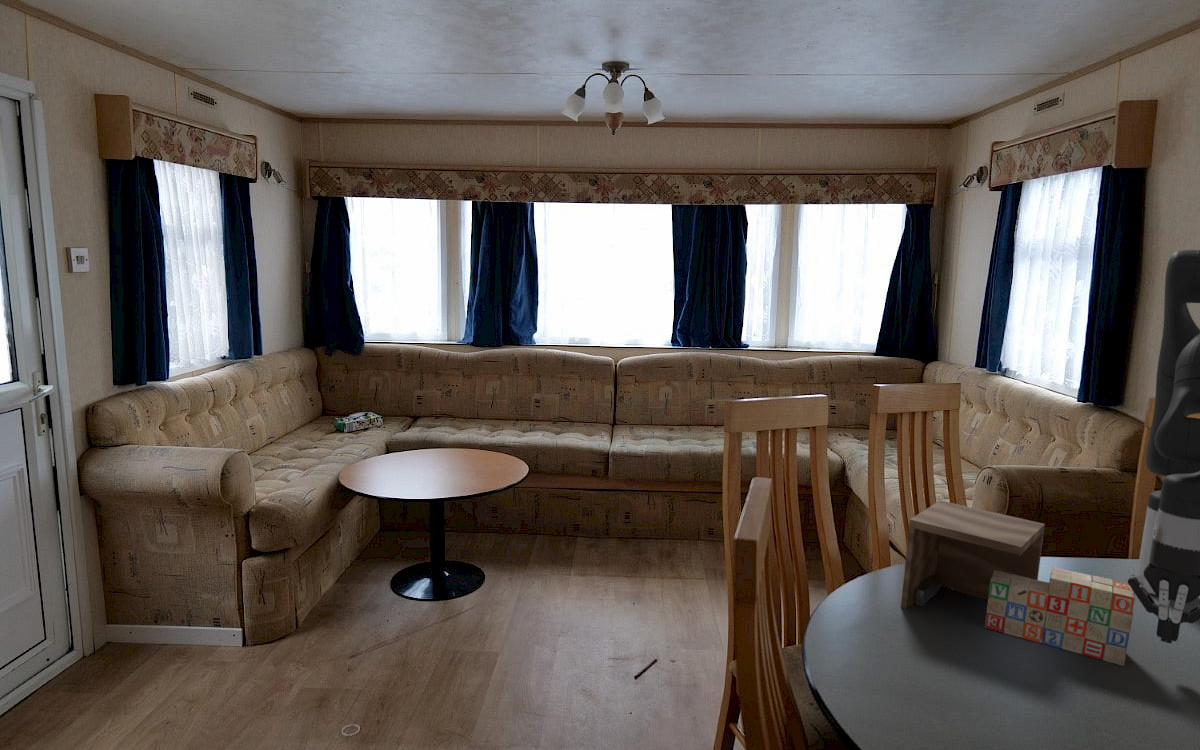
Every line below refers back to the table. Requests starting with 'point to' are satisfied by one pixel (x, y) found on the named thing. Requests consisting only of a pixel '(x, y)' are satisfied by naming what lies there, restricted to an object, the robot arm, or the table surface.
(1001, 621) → the stack of blocks
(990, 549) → the overhang shelf
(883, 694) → the table surface
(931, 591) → the registration seat
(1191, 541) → the robot arm
